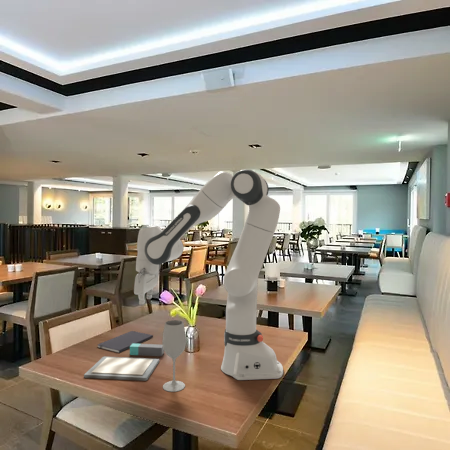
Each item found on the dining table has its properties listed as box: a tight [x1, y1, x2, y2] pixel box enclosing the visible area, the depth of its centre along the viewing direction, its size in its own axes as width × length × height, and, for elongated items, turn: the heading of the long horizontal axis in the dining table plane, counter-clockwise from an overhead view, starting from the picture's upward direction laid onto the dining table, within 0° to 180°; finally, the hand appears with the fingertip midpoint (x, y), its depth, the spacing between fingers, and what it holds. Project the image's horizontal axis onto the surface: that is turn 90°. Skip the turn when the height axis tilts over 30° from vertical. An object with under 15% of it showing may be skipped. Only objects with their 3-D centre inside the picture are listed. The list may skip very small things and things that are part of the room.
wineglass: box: [161, 319, 187, 393], centre depth 119 cm, size 8×8×21 cm
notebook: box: [97, 330, 154, 354], centre depth 160 cm, size 13×2×21 cm
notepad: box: [83, 356, 160, 382], centre depth 132 cm, size 22×16×1 cm
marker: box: [129, 343, 165, 357], centre depth 147 cm, size 13×3×3 cm, turn 85°
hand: (145, 301), depth 145 cm, fingers open, 8 cm apart
